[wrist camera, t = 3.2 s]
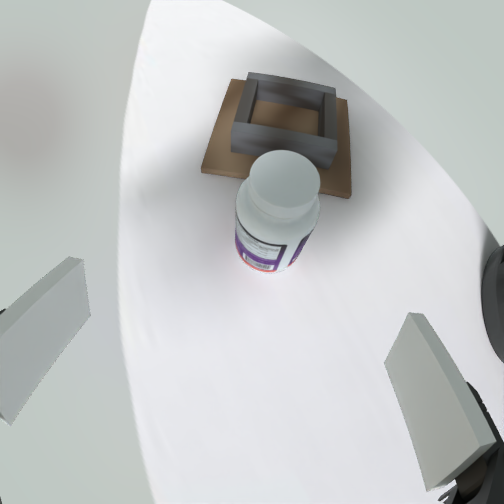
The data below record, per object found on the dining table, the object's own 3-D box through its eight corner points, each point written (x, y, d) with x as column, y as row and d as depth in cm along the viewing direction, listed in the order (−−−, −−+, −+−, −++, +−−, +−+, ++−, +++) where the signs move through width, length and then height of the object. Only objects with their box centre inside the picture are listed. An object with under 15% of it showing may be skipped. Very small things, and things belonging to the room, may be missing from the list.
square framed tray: (345, 104, 32) (354, 82, 29) (348, 198, 27) (362, 176, 24) (231, 83, 32) (231, 59, 29) (201, 172, 27) (198, 146, 24)
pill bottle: (282, 207, 27) (304, 132, 18) (310, 260, 25) (350, 201, 16) (224, 227, 26) (222, 154, 17) (250, 285, 24) (261, 235, 15)
